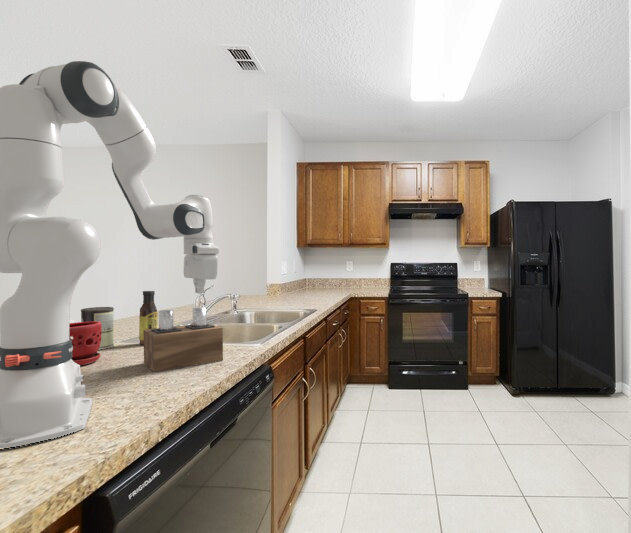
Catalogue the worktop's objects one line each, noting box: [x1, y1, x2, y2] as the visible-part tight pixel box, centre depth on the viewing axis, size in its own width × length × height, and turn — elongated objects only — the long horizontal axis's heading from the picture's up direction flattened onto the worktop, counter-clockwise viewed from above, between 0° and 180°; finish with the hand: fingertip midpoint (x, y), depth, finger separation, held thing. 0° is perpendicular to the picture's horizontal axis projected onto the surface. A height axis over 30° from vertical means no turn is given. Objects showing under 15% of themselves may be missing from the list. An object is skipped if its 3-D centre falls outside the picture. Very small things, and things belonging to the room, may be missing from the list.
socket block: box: [143, 322, 224, 373], centre depth 115 cm, size 12×20×10 cm, turn 127°
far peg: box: [192, 306, 207, 328], centre depth 118 cm, size 4×4×10 cm
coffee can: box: [80, 306, 115, 351], centre depth 136 cm, size 10×10×14 cm
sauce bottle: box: [138, 290, 159, 346], centre depth 142 cm, size 7×6×20 cm
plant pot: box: [69, 321, 102, 366], centre depth 115 cm, size 13×13×12 cm
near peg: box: [158, 309, 175, 331], centre depth 112 cm, size 4×4×10 cm
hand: (199, 293), depth 118 cm, fingers closed
